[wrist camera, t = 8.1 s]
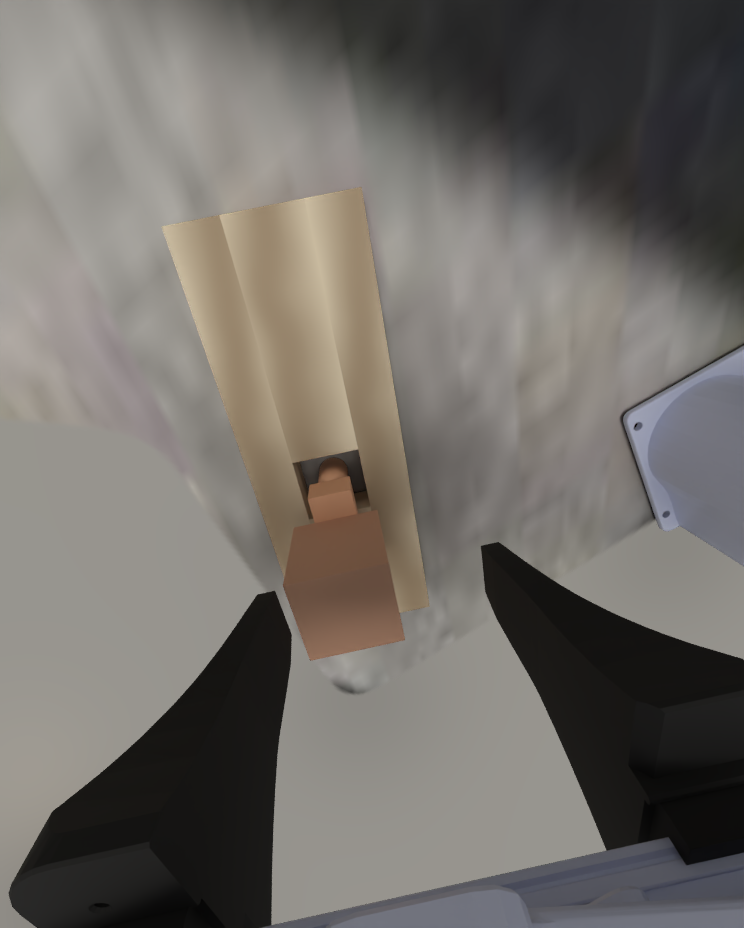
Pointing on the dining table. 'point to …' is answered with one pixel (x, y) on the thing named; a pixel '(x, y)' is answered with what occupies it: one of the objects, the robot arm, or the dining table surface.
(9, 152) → the dining table surface
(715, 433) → the robot arm
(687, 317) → the dining table surface
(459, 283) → the dining table surface
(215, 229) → the rail
